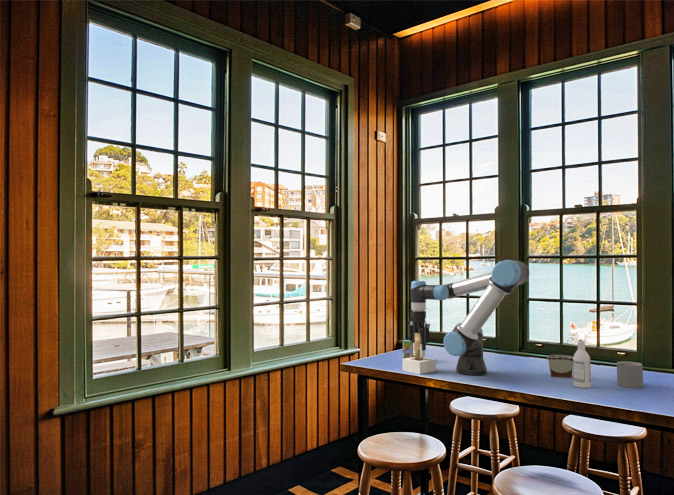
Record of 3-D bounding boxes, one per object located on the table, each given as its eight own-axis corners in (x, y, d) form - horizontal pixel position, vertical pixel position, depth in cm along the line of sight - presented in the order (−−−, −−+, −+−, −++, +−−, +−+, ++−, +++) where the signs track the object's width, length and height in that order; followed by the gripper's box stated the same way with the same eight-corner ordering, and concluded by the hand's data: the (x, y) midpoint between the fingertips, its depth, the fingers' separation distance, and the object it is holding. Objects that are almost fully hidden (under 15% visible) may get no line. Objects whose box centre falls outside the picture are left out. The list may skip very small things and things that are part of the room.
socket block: (435, 371, 248) (435, 359, 248) (419, 374, 241) (419, 362, 241) (418, 367, 258) (418, 356, 258) (402, 370, 250) (402, 358, 251)
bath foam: (585, 384, 218) (583, 340, 219) (594, 388, 211) (593, 342, 212) (570, 385, 218) (569, 340, 219) (579, 388, 211) (578, 342, 212)
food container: (572, 375, 237) (572, 355, 238) (575, 378, 231) (574, 357, 232) (545, 374, 240) (545, 354, 241) (547, 377, 235) (547, 356, 235)
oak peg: (425, 364, 249) (424, 333, 250) (419, 365, 246) (419, 333, 247) (418, 363, 252) (418, 332, 253) (413, 364, 250) (412, 333, 251)
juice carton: (420, 362, 274) (420, 335, 274) (404, 362, 274) (404, 335, 275) (418, 359, 283) (417, 333, 284) (402, 359, 283) (402, 333, 284)
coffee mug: (640, 389, 209) (639, 366, 209) (614, 386, 215) (614, 363, 216) (647, 384, 219) (646, 362, 219) (622, 381, 225) (621, 359, 226)
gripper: (436, 311, 246) (436, 357, 245) (411, 309, 260) (411, 353, 259) (426, 312, 242) (426, 359, 240) (401, 309, 255) (401, 354, 254)
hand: (419, 355), depth 250 cm, fingers closed on oak peg, 4 cm apart
